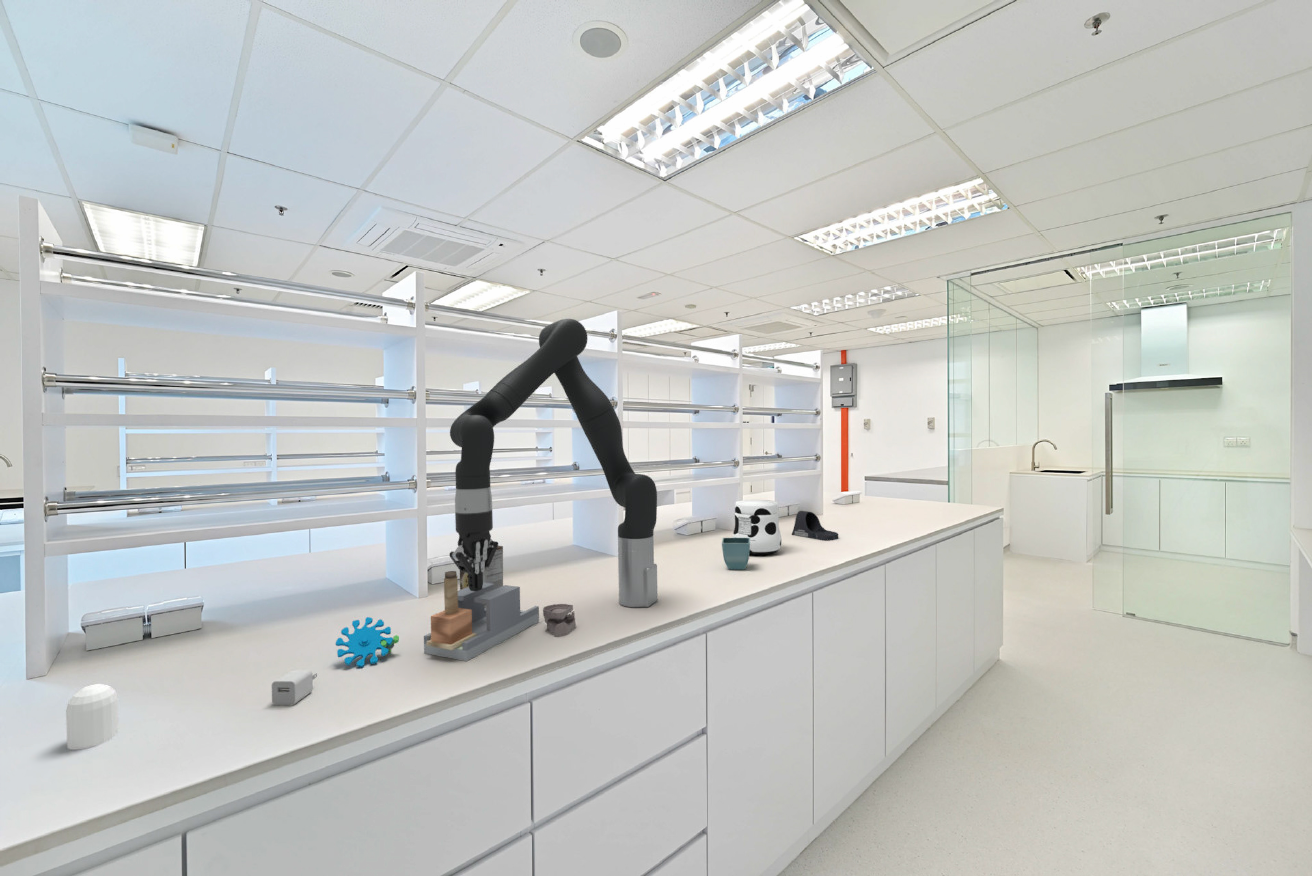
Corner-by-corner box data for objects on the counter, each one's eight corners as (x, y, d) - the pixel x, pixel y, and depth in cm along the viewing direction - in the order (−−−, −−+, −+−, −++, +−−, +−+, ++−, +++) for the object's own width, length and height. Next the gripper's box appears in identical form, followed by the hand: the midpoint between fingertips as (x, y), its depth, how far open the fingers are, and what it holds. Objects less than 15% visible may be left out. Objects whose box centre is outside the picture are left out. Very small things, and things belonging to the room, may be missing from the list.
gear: (329, 665, 103) (341, 615, 110) (331, 678, 107) (342, 629, 114) (394, 663, 107) (402, 615, 114) (393, 676, 111) (401, 629, 117)
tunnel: (539, 621, 130) (538, 578, 130) (466, 661, 108) (465, 610, 107) (501, 615, 134) (500, 574, 134) (424, 653, 112) (423, 603, 112)
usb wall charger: (272, 705, 91) (271, 681, 91) (300, 686, 98) (299, 663, 98) (295, 705, 91) (295, 681, 91) (322, 686, 98) (321, 663, 98)
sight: (827, 541, 216) (827, 516, 216) (790, 535, 231) (790, 511, 231) (841, 538, 222) (841, 514, 221) (805, 532, 236) (804, 509, 236)
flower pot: (721, 571, 173) (721, 542, 173) (723, 564, 182) (722, 537, 182) (750, 572, 172) (750, 543, 171) (750, 565, 180) (749, 537, 180)
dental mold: (557, 622, 129) (557, 600, 129) (582, 626, 126) (581, 604, 126) (535, 633, 122) (535, 611, 122) (561, 638, 119) (561, 615, 119)
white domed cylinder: (59, 745, 80) (57, 691, 80) (106, 727, 85) (104, 675, 85) (79, 752, 78) (78, 696, 78) (126, 733, 83) (125, 680, 83)
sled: (476, 637, 114) (475, 569, 113) (451, 650, 107) (450, 578, 107) (452, 633, 116) (451, 567, 116) (426, 645, 110) (425, 575, 109)
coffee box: (459, 611, 138) (457, 546, 138) (478, 604, 144) (477, 542, 144) (486, 616, 134) (484, 550, 134) (504, 608, 140) (503, 544, 139)
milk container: (778, 547, 207) (777, 499, 207) (784, 557, 190) (784, 505, 190) (731, 546, 209) (731, 499, 208) (733, 557, 191) (733, 505, 191)
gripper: (465, 514, 110) (468, 601, 110) (508, 505, 122) (510, 583, 122) (436, 513, 113) (439, 597, 113) (480, 504, 125) (483, 580, 125)
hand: (476, 590), depth 118 cm, fingers closed
